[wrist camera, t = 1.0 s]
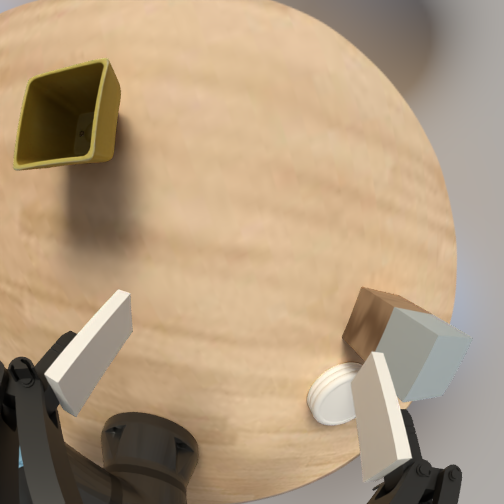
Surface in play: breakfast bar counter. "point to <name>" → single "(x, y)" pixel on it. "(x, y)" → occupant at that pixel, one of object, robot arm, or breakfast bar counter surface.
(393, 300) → the block bottom
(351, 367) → the white round disc
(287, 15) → the breakfast bar counter surface
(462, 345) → the block top
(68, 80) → the flower pot
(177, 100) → the breakfast bar counter surface
